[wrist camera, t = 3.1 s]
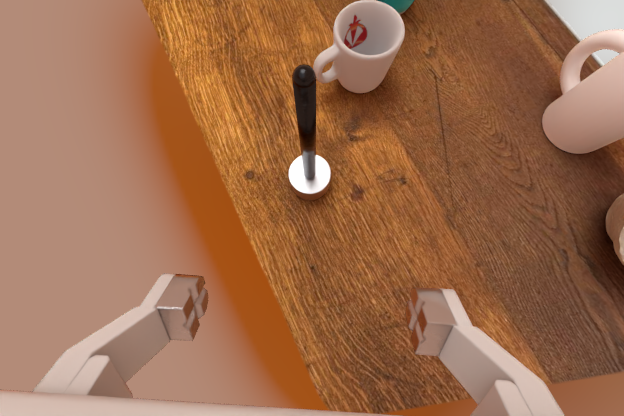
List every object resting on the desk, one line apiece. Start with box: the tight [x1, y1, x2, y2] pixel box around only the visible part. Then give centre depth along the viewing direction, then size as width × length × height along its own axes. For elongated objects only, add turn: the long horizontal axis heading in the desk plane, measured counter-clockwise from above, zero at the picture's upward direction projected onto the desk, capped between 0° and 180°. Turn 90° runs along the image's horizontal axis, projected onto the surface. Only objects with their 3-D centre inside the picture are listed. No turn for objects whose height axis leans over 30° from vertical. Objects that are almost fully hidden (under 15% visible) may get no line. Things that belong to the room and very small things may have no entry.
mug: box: [542, 29, 624, 154], centre depth 32 cm, size 8×12×12 cm
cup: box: [314, 0, 405, 93], centre depth 35 cm, size 11×8×8 cm
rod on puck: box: [288, 64, 331, 200], centre depth 26 cm, size 5×5×20 cm
